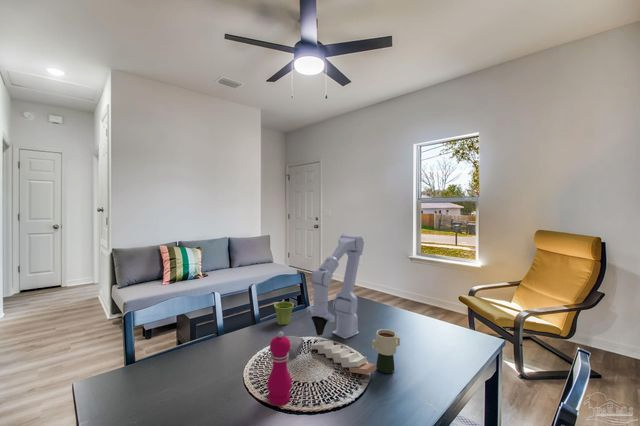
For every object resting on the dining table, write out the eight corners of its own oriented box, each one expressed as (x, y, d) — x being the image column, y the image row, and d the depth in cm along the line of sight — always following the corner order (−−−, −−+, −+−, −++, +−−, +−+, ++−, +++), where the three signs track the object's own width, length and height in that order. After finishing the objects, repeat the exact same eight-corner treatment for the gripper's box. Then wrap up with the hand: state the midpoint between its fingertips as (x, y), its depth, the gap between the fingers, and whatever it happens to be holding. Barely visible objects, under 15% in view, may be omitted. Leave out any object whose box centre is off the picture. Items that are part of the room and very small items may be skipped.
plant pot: (297, 321, 144) (297, 304, 144) (284, 328, 136) (285, 309, 136) (282, 317, 149) (282, 300, 149) (269, 323, 141) (269, 305, 141)
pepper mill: (267, 391, 91) (269, 326, 90) (291, 390, 91) (292, 326, 91) (265, 407, 84) (266, 337, 83) (291, 406, 84) (292, 337, 84)
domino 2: (327, 345, 118) (340, 344, 112) (327, 349, 118) (341, 349, 112) (317, 349, 115) (331, 348, 109) (318, 353, 114) (332, 353, 109)
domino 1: (320, 341, 121) (332, 340, 116) (320, 345, 121) (333, 345, 115) (310, 345, 118) (323, 344, 112) (311, 349, 117) (324, 349, 112)
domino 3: (334, 349, 115) (349, 348, 109) (335, 353, 114) (350, 353, 109) (325, 353, 112) (339, 352, 106) (326, 358, 111) (340, 357, 106)
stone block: (272, 361, 112) (298, 358, 110) (270, 348, 112) (295, 345, 110) (282, 347, 123) (305, 345, 122) (280, 335, 124) (303, 333, 122)
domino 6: (358, 362, 106) (375, 364, 100) (359, 366, 106) (376, 369, 100) (348, 367, 103) (366, 369, 97) (349, 372, 102) (367, 374, 97)
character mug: (393, 362, 109) (394, 327, 109) (404, 373, 102) (405, 335, 102) (366, 366, 106) (367, 330, 105) (376, 377, 99) (377, 339, 99)
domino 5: (350, 357, 109) (366, 356, 103) (351, 362, 108) (367, 361, 103) (341, 362, 105) (356, 361, 100) (342, 367, 105) (358, 366, 99)
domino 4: (342, 353, 112) (357, 352, 106) (343, 358, 111) (358, 357, 106) (333, 358, 108) (347, 357, 103) (334, 362, 108) (349, 362, 102)
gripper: (301, 297, 120) (300, 331, 120) (325, 307, 109) (324, 344, 109) (314, 294, 124) (313, 326, 125) (339, 303, 114) (338, 338, 114)
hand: (319, 334), depth 117 cm, fingers closed
